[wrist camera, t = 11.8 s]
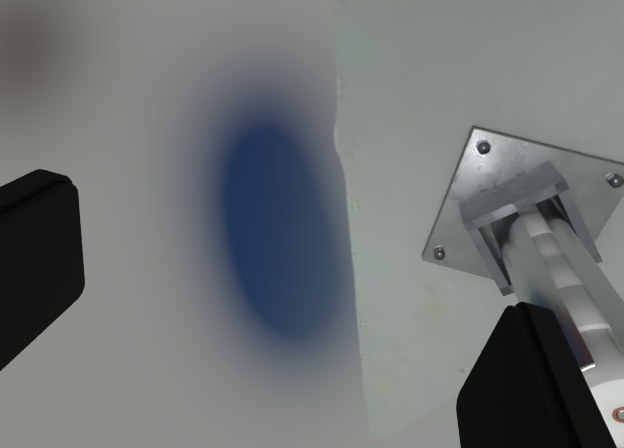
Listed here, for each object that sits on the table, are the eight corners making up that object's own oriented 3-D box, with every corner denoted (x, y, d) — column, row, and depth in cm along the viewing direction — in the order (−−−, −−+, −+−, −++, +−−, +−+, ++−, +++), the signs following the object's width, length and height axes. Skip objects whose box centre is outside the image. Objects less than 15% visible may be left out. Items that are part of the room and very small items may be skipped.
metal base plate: (472, 126, 44) (481, 144, 39) (634, 166, 43) (665, 190, 38) (421, 255, 52) (423, 285, 47) (557, 292, 51) (574, 326, 45)
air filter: (566, 195, 44) (721, 390, 23) (541, 249, 48) (656, 465, 26) (501, 182, 45) (592, 360, 23) (481, 236, 48) (543, 436, 26)
